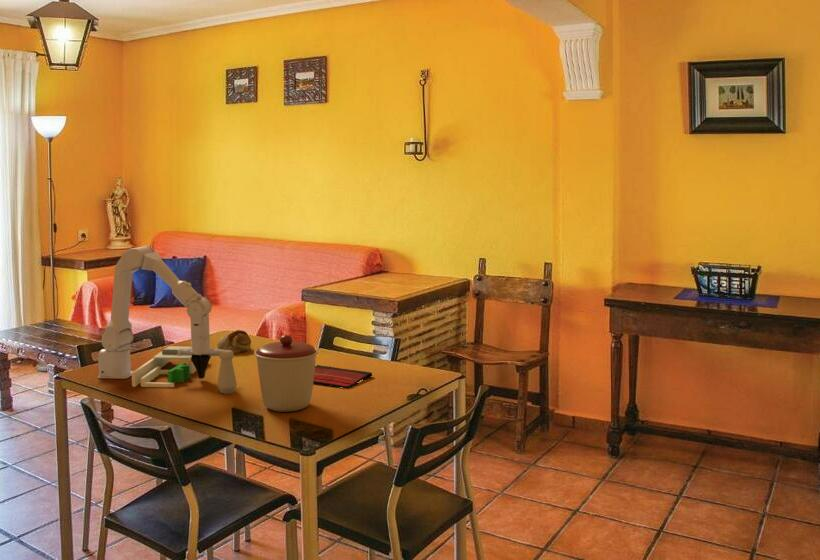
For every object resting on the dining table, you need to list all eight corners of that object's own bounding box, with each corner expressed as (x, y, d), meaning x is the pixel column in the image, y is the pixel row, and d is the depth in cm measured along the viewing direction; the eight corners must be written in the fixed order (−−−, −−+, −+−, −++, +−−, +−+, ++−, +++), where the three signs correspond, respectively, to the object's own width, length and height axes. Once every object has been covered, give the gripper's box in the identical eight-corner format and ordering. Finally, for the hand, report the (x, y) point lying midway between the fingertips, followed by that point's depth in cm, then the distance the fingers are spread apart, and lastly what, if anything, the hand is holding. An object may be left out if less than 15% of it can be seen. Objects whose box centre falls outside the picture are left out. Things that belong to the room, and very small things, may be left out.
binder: (317, 364, 266) (372, 371, 257) (317, 370, 267) (372, 378, 258) (291, 377, 252) (348, 385, 243) (291, 384, 252) (348, 393, 244)
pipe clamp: (179, 386, 246) (178, 372, 246) (168, 385, 247) (167, 371, 246) (193, 376, 257) (193, 362, 257) (182, 375, 258) (182, 362, 257)
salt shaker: (219, 396, 235) (218, 353, 233) (215, 391, 240) (214, 349, 238) (239, 393, 238) (238, 351, 236) (234, 388, 243) (233, 347, 241)
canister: (242, 412, 220) (241, 338, 217) (276, 394, 237) (274, 326, 234) (299, 420, 214) (298, 344, 211) (329, 401, 231) (329, 331, 228)
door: (153, 358, 259) (152, 352, 259) (169, 347, 274) (168, 342, 274) (188, 359, 259) (188, 353, 258) (203, 348, 274) (202, 342, 274)
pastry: (240, 355, 285) (240, 334, 284) (210, 353, 288) (209, 331, 287) (258, 347, 299) (258, 326, 297) (229, 344, 302) (228, 324, 301)
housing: (132, 386, 244) (131, 372, 244) (167, 361, 275) (166, 348, 275) (176, 387, 244) (176, 373, 243) (206, 362, 275) (206, 349, 274)
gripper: (173, 338, 246) (175, 380, 248) (219, 339, 245) (220, 381, 247) (180, 333, 253) (182, 374, 255) (225, 334, 252) (226, 375, 254)
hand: (201, 377), depth 251 cm, fingers closed
